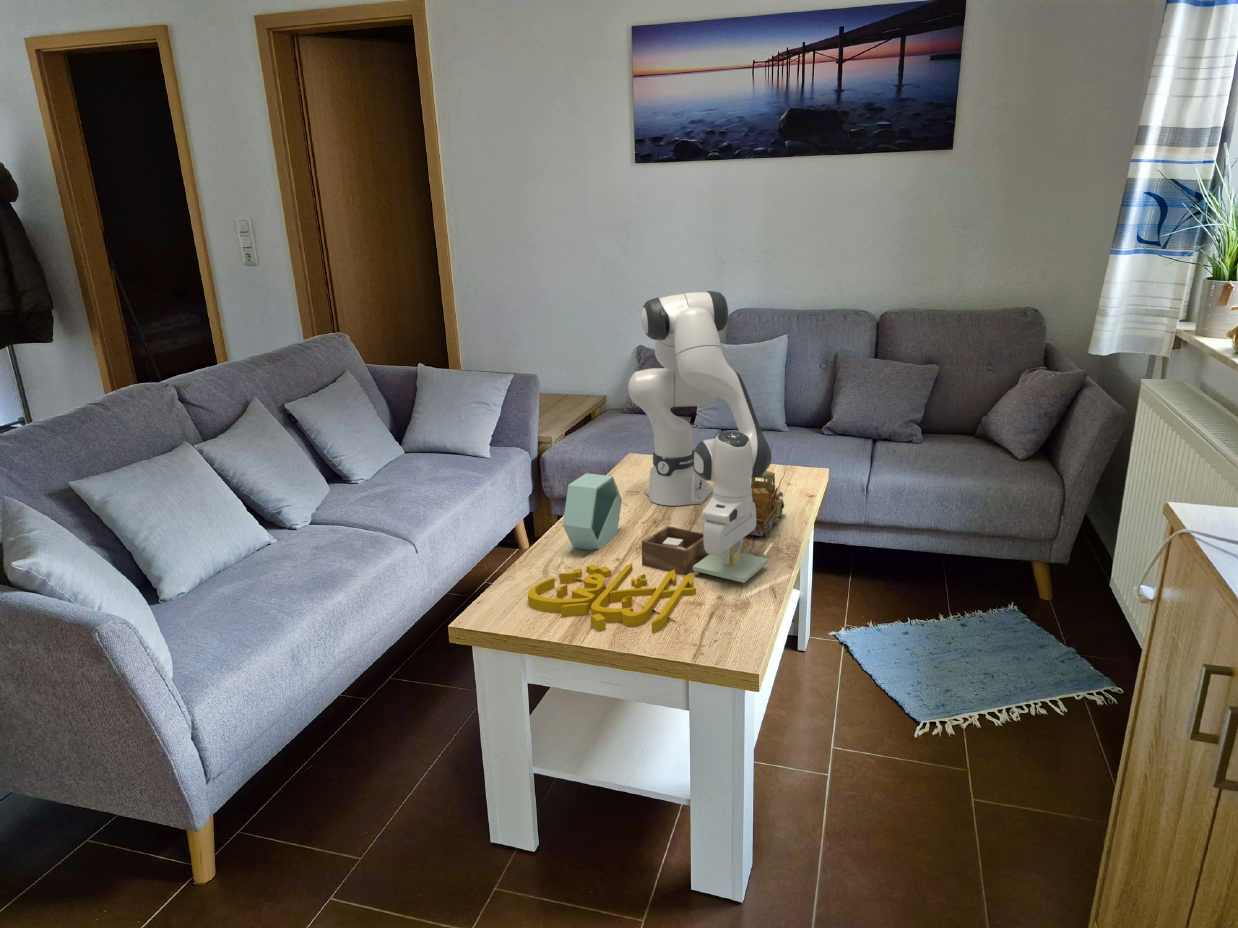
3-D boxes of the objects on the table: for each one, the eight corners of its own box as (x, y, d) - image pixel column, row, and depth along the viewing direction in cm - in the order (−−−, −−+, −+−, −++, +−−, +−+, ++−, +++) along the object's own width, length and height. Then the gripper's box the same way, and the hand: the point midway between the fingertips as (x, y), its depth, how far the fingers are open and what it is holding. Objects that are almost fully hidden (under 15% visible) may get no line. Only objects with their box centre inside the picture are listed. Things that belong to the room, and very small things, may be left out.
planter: (605, 564, 218) (584, 515, 203) (578, 559, 221) (555, 511, 206) (626, 512, 227) (608, 462, 212) (600, 508, 230) (580, 459, 215)
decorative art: (511, 603, 181) (575, 552, 207) (512, 616, 182) (575, 563, 208) (658, 632, 168) (707, 574, 194) (658, 645, 169) (707, 585, 195)
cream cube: (668, 552, 210) (668, 537, 209) (683, 554, 209) (683, 539, 207) (662, 558, 207) (662, 543, 205) (677, 560, 205) (677, 545, 204)
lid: (718, 551, 206) (718, 536, 205) (768, 562, 199) (768, 546, 198) (692, 570, 196) (692, 554, 195) (744, 582, 189) (744, 566, 188)
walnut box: (667, 551, 213) (667, 525, 211) (710, 561, 206) (710, 535, 204) (642, 568, 203) (641, 541, 201) (685, 579, 197) (686, 551, 195)
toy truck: (789, 515, 237) (791, 463, 233) (767, 547, 215) (769, 491, 211) (751, 510, 241) (753, 459, 237) (726, 541, 219) (727, 486, 215)
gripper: (739, 488, 203) (738, 542, 207) (698, 514, 187) (698, 572, 191) (763, 493, 200) (762, 547, 204) (724, 519, 183) (723, 578, 187)
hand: (730, 559), depth 197 cm, fingers closed on lid, 3 cm apart
